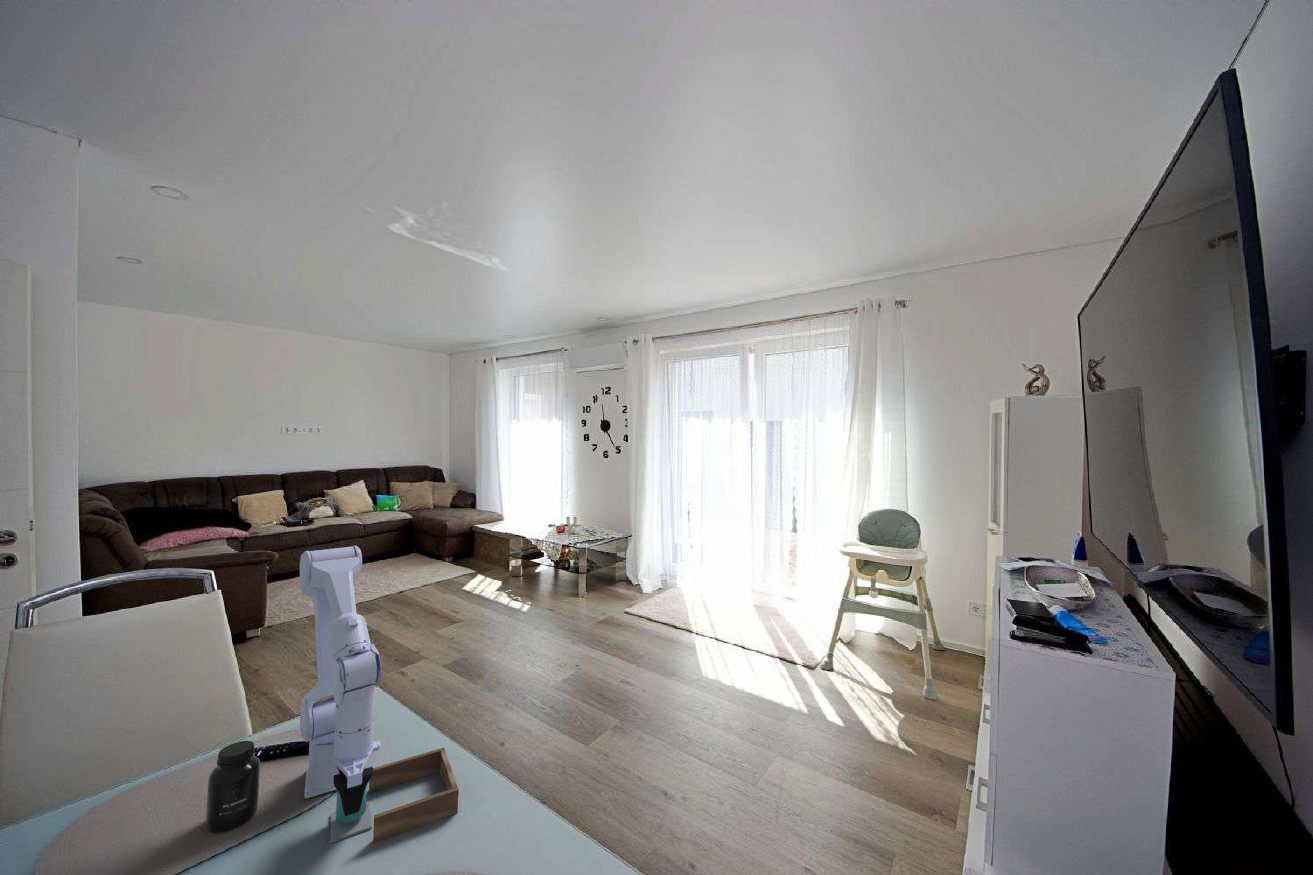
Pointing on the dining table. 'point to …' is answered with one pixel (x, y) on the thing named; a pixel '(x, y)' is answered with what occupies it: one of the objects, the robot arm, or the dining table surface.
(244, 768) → the supplement bottle
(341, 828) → the mat
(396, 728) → the dining table surface
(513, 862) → the dining table surface
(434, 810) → the open u-shaped frame
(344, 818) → the capsule
